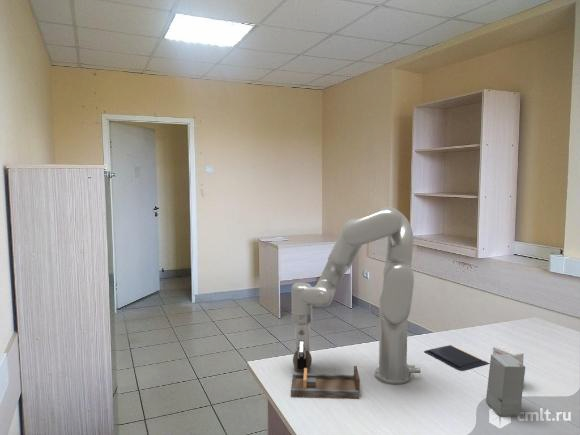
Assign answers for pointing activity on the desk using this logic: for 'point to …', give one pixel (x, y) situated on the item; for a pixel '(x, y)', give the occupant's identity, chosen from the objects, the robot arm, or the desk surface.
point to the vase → (308, 360)
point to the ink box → (508, 352)
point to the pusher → (308, 380)
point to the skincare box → (505, 384)
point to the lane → (327, 386)
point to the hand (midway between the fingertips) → (302, 364)
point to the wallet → (456, 358)
